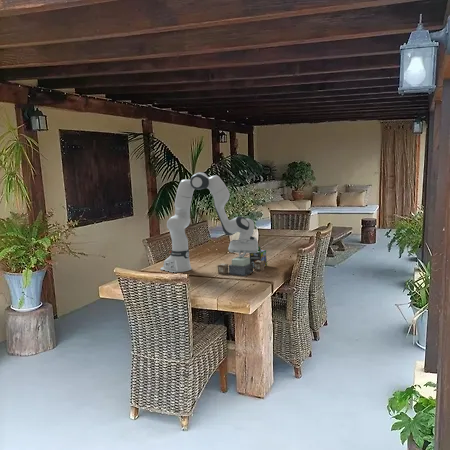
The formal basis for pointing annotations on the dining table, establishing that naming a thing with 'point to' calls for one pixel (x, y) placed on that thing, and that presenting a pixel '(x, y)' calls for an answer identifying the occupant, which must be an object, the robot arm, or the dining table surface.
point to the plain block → (240, 261)
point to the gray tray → (241, 269)
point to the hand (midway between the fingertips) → (241, 257)
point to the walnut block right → (258, 265)
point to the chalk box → (258, 257)
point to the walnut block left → (223, 269)
